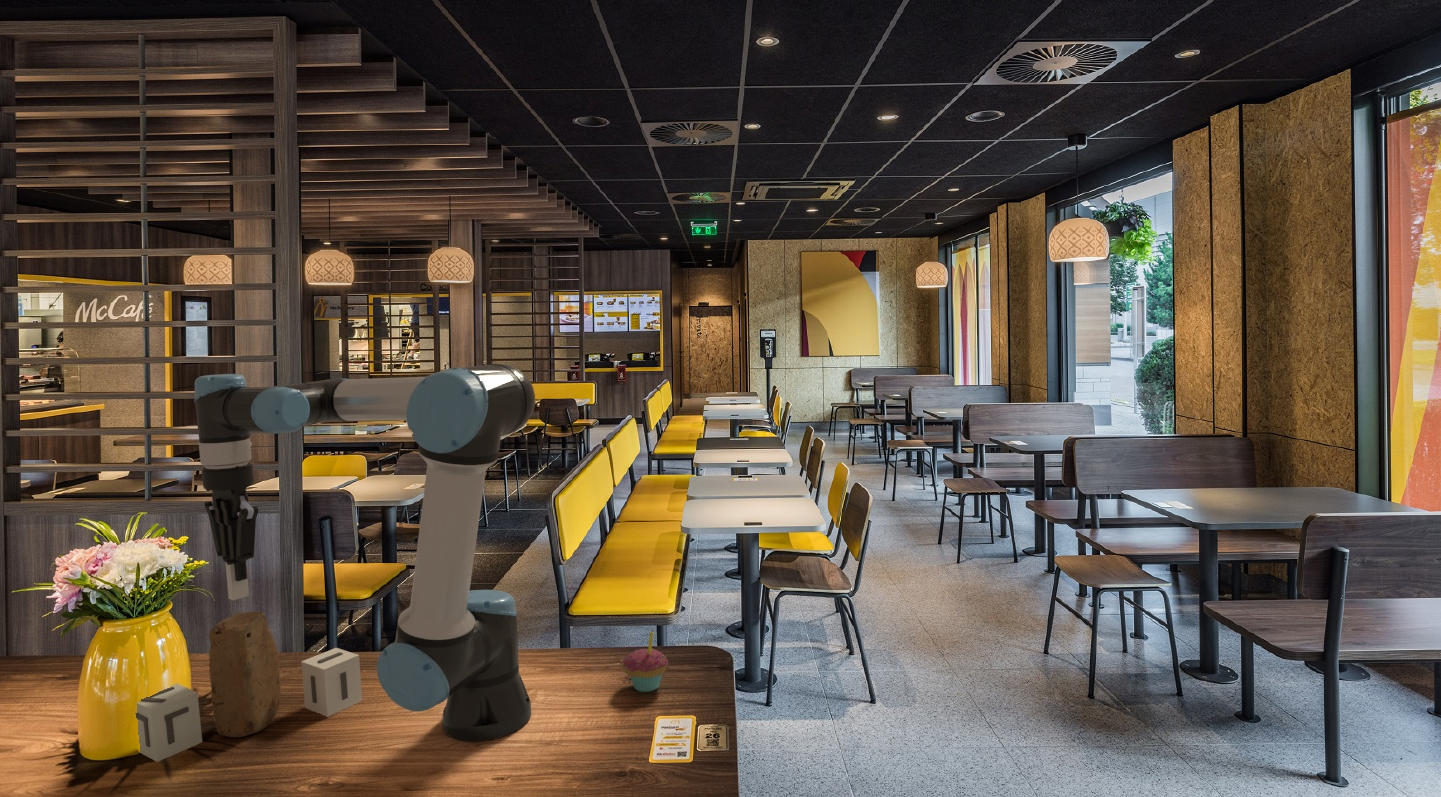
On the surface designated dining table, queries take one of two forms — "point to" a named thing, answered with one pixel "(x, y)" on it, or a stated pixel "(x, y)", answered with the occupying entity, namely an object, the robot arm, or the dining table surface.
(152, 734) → the numbered cube seven
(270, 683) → the block
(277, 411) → the robot arm
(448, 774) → the dining table surface
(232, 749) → the dining table surface
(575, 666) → the dining table surface
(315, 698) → the numbered cube one
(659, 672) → the cupcake
